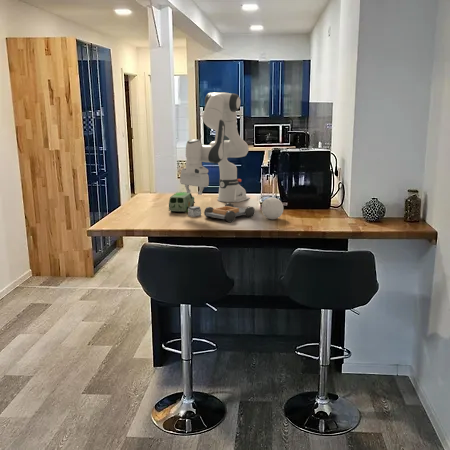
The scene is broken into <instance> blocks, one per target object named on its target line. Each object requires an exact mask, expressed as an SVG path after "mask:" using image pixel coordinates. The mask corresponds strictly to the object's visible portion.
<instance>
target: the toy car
mask: <svg viewBox="0 0 450 450" xmlns="http://www.w3.org/2000/svg"><path fill="white" fill-rule="evenodd" d="M195 203H196V201H195V197H194V196H193V195H192V193H191V192H190V193H187V191H179V192H178V191H177V192H175V193H174V194H172V195H171V196H170V197H169V200H168V211H170V213H173V212H184V214H185V213H188V209H189V207H193V206H195Z"/></svg>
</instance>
